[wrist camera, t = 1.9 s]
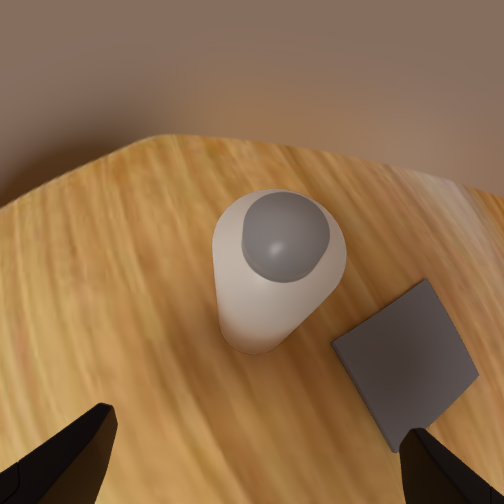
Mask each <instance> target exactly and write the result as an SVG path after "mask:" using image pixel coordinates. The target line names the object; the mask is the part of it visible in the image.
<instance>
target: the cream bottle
mask: <svg viewBox="0 0 504 504" xmlns="http://www.w3.org/2000/svg"><path fill="white" fill-rule="evenodd" d="M212 251H213V263H214V275H215V286H216V297H217V308H218V318H219V326H220V330H221V333H222V335H223V337H224V339H225V340H226V341H227V343H228V344H229V345H230V346H231V347H233V348H234V349H236V350H237V351H239V352H242V353H245V354H251V355H258V354H263V353H266V352H269V351H271V350H272V349H274V348H275V347H277V346H278V345H279V344H280V343H281V342H282V341H283V340H284V339H285V338H286V337H287V336H288V335H289V334H291V333H292V332H293V331H294V330H295V329H296V328H297V327H298V326H299V325H300V324H301V323H302V322H303V321H304V320H305V319H306V318H307V317H308V316H309V315H310V314H311V313H312V312H313V311H314V310H315V309H316V308H317V307H318V306H319V305H320V304H321V303H322V302H323V301H324V300H325V299H326V298H327V297H328V296H329V295H330V294H331V293H332V292H333V290H334V289H335V288H336V287H337V285H338V284H339V282H340V280H341V278H342V276H343V273H344V270H345V266H346V259H347V252H346V244H345V240H344V236H343V233H342V231H341V229H340V227H339V225H338V223H337V222H336V220H335V219H334V218H333V216H332V215H331V214H330V213H329V212H328V211H327V210H326V209H325V208H324V207H323V206H322V205H320V204H319V203H318V202H316V201H315V200H313V199H311V198H309V197H307V196H305V195H303V194H300V193H298V192H294V191H290V190H284V189H265V190H260V191H255V192H252V193H249V194H247V195H245V196H243V197H241V198H239V199H238V200H236V201H235V202H234V203H232V204H231V205H230V206H229V207H228V208H227V209H226V210H225V211H224V213H223V214H222V216H221V217H220V219H219V221H218V223H217V225H216V228H215V231H214V235H213V241H212Z"/></svg>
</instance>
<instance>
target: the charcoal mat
mask: <svg viewBox="0 0 504 504" xmlns="http://www.w3.org/2000/svg"><path fill="white" fill-rule="evenodd" d="M331 344H332V346H333V348H334V349H335V351H336V353H337V355H338V356H339V358H340V360H341V362H342V363H343V365H344V367H345V369H346V370H347V372H348V374H349V375H350V377H351V379H352V381H353V383H354V384H355V386H356V388H357V390H358V391H359V393H360V395H361V397H362V398H363V400H364V402H365V404H366V405H367V407H368V409H369V411H370V413H371V414H372V416H373V418H374V420H375V422H376V423H377V425H378V427H379V429H380V430H381V432H382V434H383V436H384V438H385V440H386V441H387V443H388V445H389V447H390V449H391V450H392V452H394V453H397V452H398V451H399V446H400V443H401V442H402V440H403V439H404V437H405V436H406V434H407V433H408V432H409V430H410V429H412V428H419V427H421V428H424V429H426V428H427V427H428V426H429V425H430V424H431V423H432V422H434V421H435V420H436V419H437V418H438V417H439V416H440V415H441V414H442V413H443V412H444V411H445V410H446V409H447V408H448V407H449V406H450V405H451V404H452V403H453V402H454V401H455V400H456V399H457V398H458V397H459V396H460V395H461V394H462V393H463V392H464V391H465V390H466V389H467V388H468V387H469V386H470V385H471V383H472V382H473V381H474V380H475V379H476V378H477V377H478V376H479V374H478V371H477V369H476V367H475V365H474V363H473V361H472V359H471V357H470V355H469V353H468V351H467V349H466V347H465V345H464V343H463V341H462V339H461V337H460V335H459V334H458V332H457V330H456V328H455V326H454V324H453V323H452V321H451V319H450V317H449V315H448V314H447V312H446V310H445V308H444V306H443V305H442V303H441V301H440V300H439V298H438V296H437V294H436V293H435V291H434V289H433V288H432V286H431V284H430V283H429V281H428V280H427V278H426V279H425V280H423V281H422V282H421V283H419V284H418V285H416V286H415V287H414V288H412V289H411V290H410V291H408V292H407V293H405V294H404V295H403V296H401V297H400V298H398V299H397V300H396V301H394V302H393V303H391V304H390V305H388V306H387V307H385V308H384V309H382V310H381V311H380V312H378V313H377V314H375V315H374V316H372V317H371V318H369V319H368V320H366V321H364V322H363V323H361V324H360V325H358V326H357V327H355V328H354V329H352V330H350V331H349V332H347V333H346V334H344V335H343V336H341V337H339V338H338V339H336V340H334V341H333V342H331Z"/></svg>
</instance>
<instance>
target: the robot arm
mask: <svg viewBox="0 0 504 504" xmlns="http://www.w3.org/2000/svg"><path fill="white" fill-rule="evenodd" d="M117 426H118V423H117V418H116V414H115V410H114V407H113V406H112V405H109V404H105V403H98V404H97V405H95V406H94V407H93V408H91V409H90V410H89V411H87V412H86V413H85V414H83V415H82V416H80V417H79V418H78V419H76V420H75V421H74V422H72V423H71V424H69V425H68V426H67V427H65V428H64V429H63V430H61V431H60V432H58V433H57V434H56V435H54V436H53V437H51V438H50V439H49V440H47V441H46V442H44V443H43V444H42V445H40V446H39V447H37V448H36V449H35V450H33V451H32V452H30V453H29V454H28V455H26V456H25V457H23V458H22V459H20V460H19V461H18V462H16V463H14V464H13V465H12V466H10V467H9V468H7V469H6V470H4V471H2V472H1V473H0V504H95V501H96V498H97V496H98V493H99V490H100V487H101V485H102V482H103V479H104V477H105V474H106V471H107V468H108V464H109V460H110V455H111V451H112V447H113V443H114V439H115V435H116V431H117ZM399 453H400V463H401V473H402V483H403V490H404V496H405V501H406V504H504V496H503V495H502V494H500V493H499V492H498V491H497V490H495V489H494V488H493V487H492V486H490V485H489V484H488V483H487V482H486V481H485V480H483V479H482V478H481V477H480V476H479V475H477V474H476V473H475V472H474V471H473V470H472V469H470V468H469V467H468V466H467V465H466V464H464V463H463V462H462V461H461V460H460V459H459V458H457V457H456V456H455V455H454V454H453V453H452V452H450V451H449V450H448V449H447V448H446V447H445V446H444V445H442V444H441V443H440V442H439V441H438V440H437V439H435V438H434V437H433V436H432V435H431V434H430V433H428V432H427V431H426V430H425V429H424V428H421V427H419V428H412V429H410V430H409V432H408V433H407V434H406V436H405V437H404V439H403V440H402V442H401V443H400V446H399Z"/></svg>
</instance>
